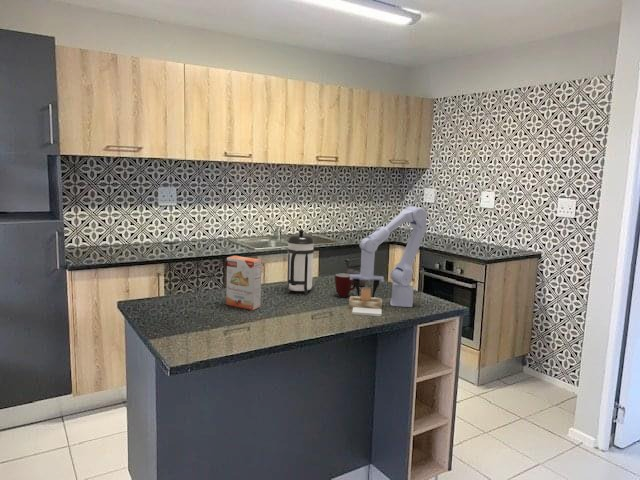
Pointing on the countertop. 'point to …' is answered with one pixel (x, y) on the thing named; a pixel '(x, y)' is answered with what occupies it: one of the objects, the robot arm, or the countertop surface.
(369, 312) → the mat
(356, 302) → the beige holed block
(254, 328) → the countertop surface
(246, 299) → the cracker box
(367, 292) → the plug
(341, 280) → the mug
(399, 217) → the robot arm
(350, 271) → the perforated stone tool
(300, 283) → the coffee press
